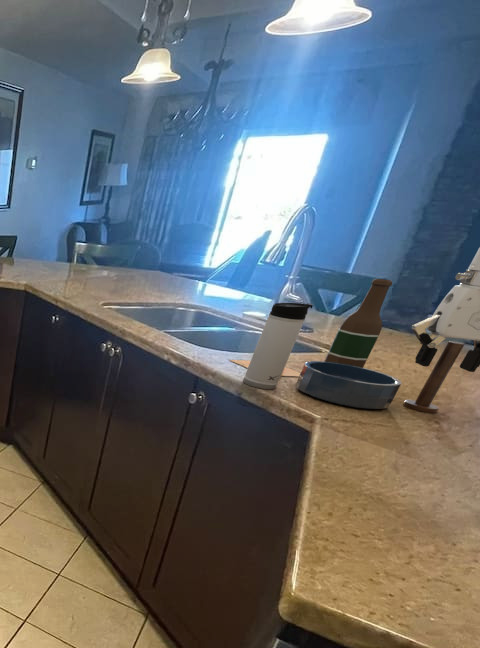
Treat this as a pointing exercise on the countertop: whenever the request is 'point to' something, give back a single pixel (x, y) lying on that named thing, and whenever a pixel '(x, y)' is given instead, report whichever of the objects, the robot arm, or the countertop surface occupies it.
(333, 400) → the bowl
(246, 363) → the tan flat slab
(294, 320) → the travel mug
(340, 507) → the countertop surface
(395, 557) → the countertop surface
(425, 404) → the wooden post with base
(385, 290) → the beer bottle
